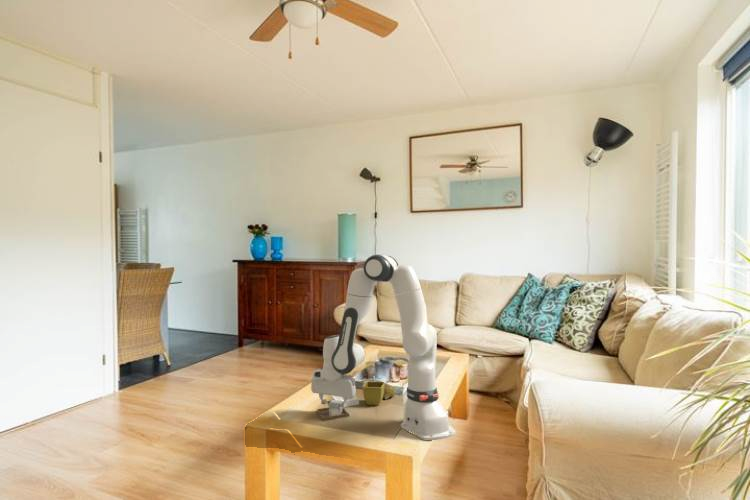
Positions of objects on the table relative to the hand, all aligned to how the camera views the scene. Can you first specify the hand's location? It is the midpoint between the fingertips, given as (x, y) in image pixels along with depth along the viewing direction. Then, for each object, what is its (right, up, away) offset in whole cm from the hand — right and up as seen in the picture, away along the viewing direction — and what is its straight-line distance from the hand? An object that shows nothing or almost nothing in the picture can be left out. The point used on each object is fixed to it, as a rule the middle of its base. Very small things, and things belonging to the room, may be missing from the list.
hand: (333, 405), depth 172 cm
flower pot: (+18, -4, +11) cm, 21 cm away
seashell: (+23, -4, +19) cm, 30 cm away
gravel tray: (0, -4, -2) cm, 4 cm away
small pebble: (+1, -3, -5) cm, 5 cm away
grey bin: (+4, -4, +12) cm, 13 cm away
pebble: (+1, -3, 0) cm, 3 cm away
